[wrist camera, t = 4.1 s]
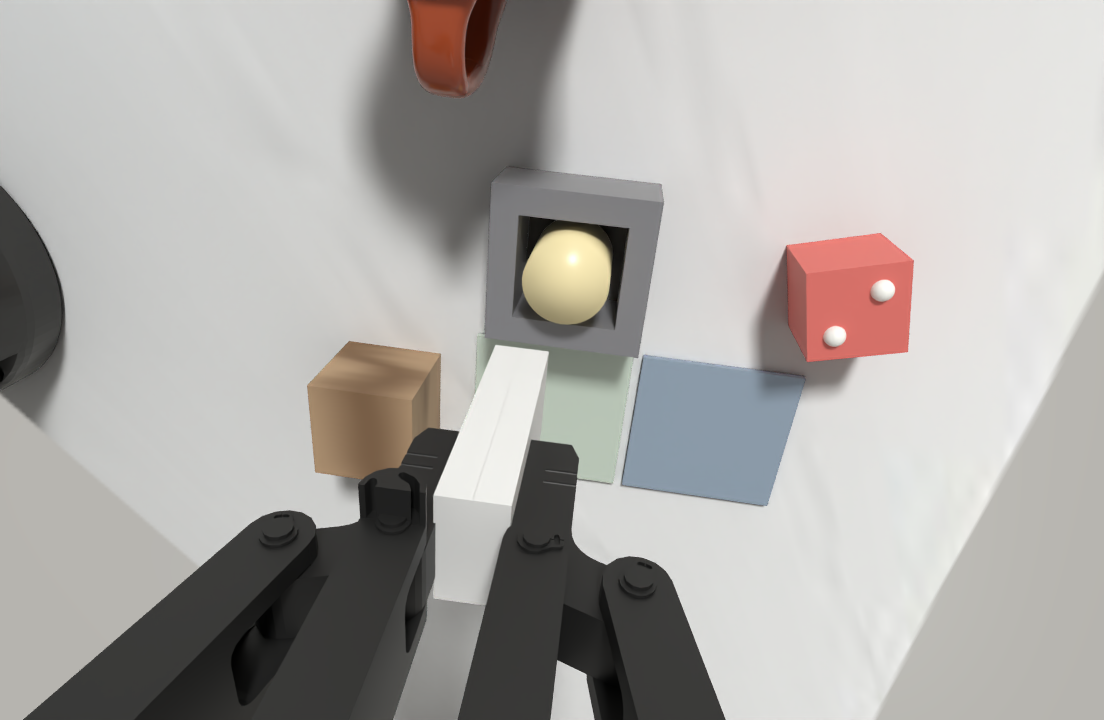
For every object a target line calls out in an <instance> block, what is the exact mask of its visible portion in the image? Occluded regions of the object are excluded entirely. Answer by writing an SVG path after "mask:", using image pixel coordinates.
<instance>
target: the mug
mask: <svg viewBox="0 0 1104 720" xmlns="http://www.w3.org/2000/svg"><path fill="white" fill-rule="evenodd" d="M407 3H408V6H409V11H410V17H411V39H412V57H413V65H414V71H415V74H416V77H417V79H418V81H419V83H420V85H421V87H422V88H423V89H425V90H426V91H427V92H429V93H431V94H433V95H437V96H443V97H450V98H465V97H468V96H470V95H471V94H473V93H474V92H475V91H476V90H477V89H478V87H479V86H480V85H481V83H482V82H483V80H484V78H485V75H486V73H487V70H488V67H489V63H490V60H491V56H492V52H493V48H494V43H495V38H496V34H497V29H498V26H499V23H500V20H501V17H502V14H503V11H504V9H505V6H506V3H507V0H407Z"/></svg>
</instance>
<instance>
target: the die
mask: <svg viewBox="0 0 1104 720" xmlns="http://www.w3.org/2000/svg"><path fill="white" fill-rule="evenodd" d="M913 264H914V260H913V259H911V258H910V257H909V256H908V255H906V254H905V253H904V252H903V251H902V250H900V249H899V248H898V247H897V246H896V245H894V244H893V243H892V242H891V241H890V240H888V239H887V238H886V237H885V236H883V235H882V234H881V233H878V234H870V235H863V236H855V237H847V238H840V239H832V240H824V241H817V242H809V243H801V244H794V245H787V286H788V326H789V328H790V330H791V332H792V334H793V335H794V337H795V339H796V341H797V343H798V345H799V347H800V349H801V351H802V353H803V355H804V357H805V359H806V361H807V362H812V361H823V360H833V359H843V358H853V357H863V356H873V355H883V354H893V353H904V352H908V342H909V326H910V311H911V295H912V280H913Z"/></svg>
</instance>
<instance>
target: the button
mask: <svg viewBox="0 0 1104 720" xmlns="http://www.w3.org/2000/svg"><path fill="white" fill-rule="evenodd" d="M612 261H613V249H612V244H611V241H610V239H609V237H608V235H607V234H606V232H605V231H604V230H603V229H602V228H601V227H600V226H599V225H598V224H589V223H581V222H572V221H564V220H556V221H554V222H552V223H551V224H550V225H548V226H547V227H546V228H545V230H544V231H543V232H542V234H541V235H540V237H539V239H538V241H537V243H536V245H535V247H534V249H533V251H532V253H531V255H530V257H529V259H528V262H527V264H526V266H525V268H524V271H523V276H522V287H523V292H524V295H525V298H526V300H527V302H528V303H529V305H530V306H531V308H532V309H533V310H534V311H535V312H536V313H537V314H538V315H540V316H541V317H543V318H544V319H546V320H548V321H551V322H554V323H558V324H565V325H569V324H577V323H581V322H584V321H586V320H588V319H590V318H591V317H593V316H594V315H595V314H597V313H598V311H599V310H600V309H601V308H602V307H603V305H604V303H605V301H606V299H607V296H608V292H609V286H610V278H611V269H612Z"/></svg>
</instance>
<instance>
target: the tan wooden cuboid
mask: <svg viewBox="0 0 1104 720" xmlns="http://www.w3.org/2000/svg"><path fill="white" fill-rule="evenodd" d="M440 373H441V354H438V353H431V352H424V351H416V350H409V349H402V348H394V347H387V346H380V345H373V344H365V343H358V342H351V341H349V342H348V343H347V344H346V345H345V346H344V347H343V348H342V349H341V350H340V351H339V352H338V353H337V354H336V356H335V357H334V358H333V359H332V360H331V361H330V362H329V363H328V364H327V365H326V366H325V367H324V368H323V369H322V370H321V371H320V373H319V374H318V375H317V376H316V377H315V378H314V379H313V380H312V381H311V382H310V383H309V384H308V385H307V389H308V400H309V410H310V421H311V432H312V443H313V453H314V464H315V472H317V473H323V474H330V475H337V476H343V477H350V478H357V479H364V477H365V476H367V475H369V474H371V473H373V472H375V471H378V470H382V469H386V468H399V466H401V462H402V460H403V458H404V456H405V454H407V451H408V449H409V447H410V445H411V443H412V441H413V439H414V438H415V437H416V436H418V435H419V434H420V433H422V432H423V431H424V430H426V429H427V428H436V429H440Z"/></svg>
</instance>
